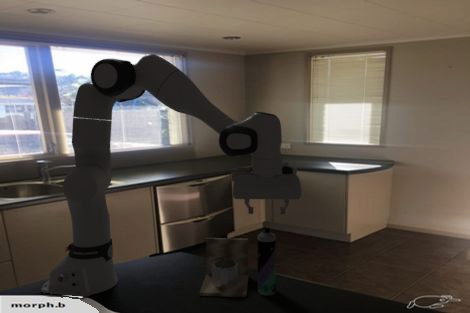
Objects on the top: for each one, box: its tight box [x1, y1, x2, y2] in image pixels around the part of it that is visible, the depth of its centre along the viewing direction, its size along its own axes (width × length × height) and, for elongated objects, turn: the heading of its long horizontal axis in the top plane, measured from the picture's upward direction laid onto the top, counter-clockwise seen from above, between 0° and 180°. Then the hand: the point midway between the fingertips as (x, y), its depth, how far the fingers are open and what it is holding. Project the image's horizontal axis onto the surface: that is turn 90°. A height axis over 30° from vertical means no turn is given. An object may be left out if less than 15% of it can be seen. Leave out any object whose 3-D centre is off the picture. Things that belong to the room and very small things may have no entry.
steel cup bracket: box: [212, 257, 238, 289], centre depth 112 cm, size 8×10×6 cm
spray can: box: [257, 226, 277, 297], centre depth 107 cm, size 6×6×20 cm
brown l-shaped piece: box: [198, 237, 250, 298], centre depth 111 cm, size 14×14×13 cm
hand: (266, 213), depth 105 cm, fingers open, 8 cm apart
